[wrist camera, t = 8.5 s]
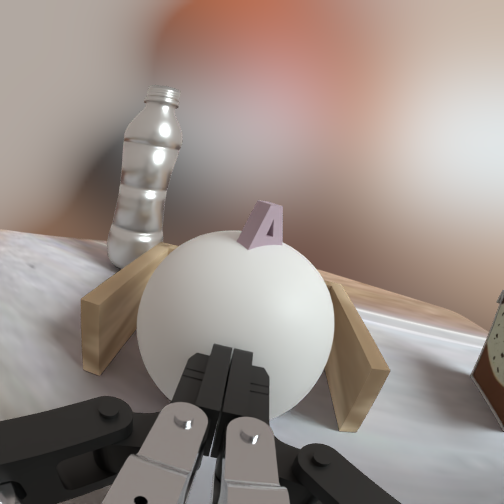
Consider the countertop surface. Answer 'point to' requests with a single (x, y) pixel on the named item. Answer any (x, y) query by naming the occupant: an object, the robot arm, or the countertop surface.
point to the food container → (493, 366)
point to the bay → (337, 367)
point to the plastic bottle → (145, 176)
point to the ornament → (239, 308)
